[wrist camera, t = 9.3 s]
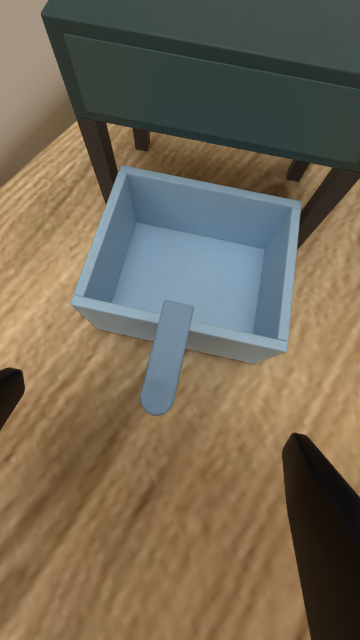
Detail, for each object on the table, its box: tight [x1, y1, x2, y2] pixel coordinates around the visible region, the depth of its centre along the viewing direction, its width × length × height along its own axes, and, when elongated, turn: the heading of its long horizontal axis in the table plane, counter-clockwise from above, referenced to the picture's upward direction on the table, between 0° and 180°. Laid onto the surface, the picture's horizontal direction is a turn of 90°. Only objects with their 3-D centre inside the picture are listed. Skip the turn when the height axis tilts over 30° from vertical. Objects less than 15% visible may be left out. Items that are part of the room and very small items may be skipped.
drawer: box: [70, 165, 301, 416], centre depth 15 cm, size 14×12×10 cm
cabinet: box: [41, 0, 360, 250], centre depth 17 cm, size 10×16×12 cm, turn 78°
